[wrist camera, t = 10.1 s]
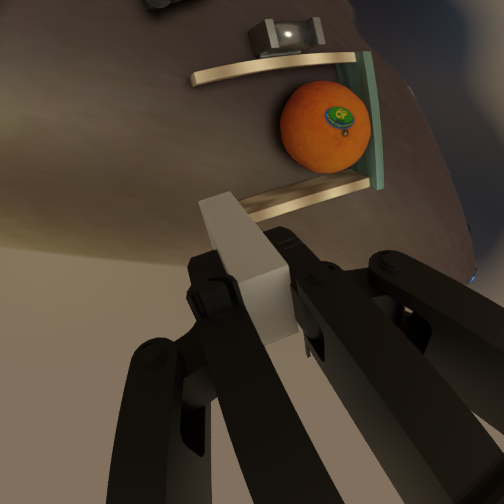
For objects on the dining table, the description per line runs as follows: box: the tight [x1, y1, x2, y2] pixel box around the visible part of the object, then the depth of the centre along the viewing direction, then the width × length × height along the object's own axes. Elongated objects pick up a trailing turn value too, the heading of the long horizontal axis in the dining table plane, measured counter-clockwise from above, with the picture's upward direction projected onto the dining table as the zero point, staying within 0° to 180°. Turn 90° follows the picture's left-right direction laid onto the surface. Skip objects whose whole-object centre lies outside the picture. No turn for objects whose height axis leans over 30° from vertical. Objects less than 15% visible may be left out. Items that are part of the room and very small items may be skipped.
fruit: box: [280, 81, 371, 173], centre depth 30 cm, size 11×10×8 cm
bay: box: [189, 51, 384, 223], centre depth 30 cm, size 19×17×6 cm
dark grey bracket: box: [248, 17, 325, 59], centre depth 24 cm, size 6×4×6 cm, turn 103°
